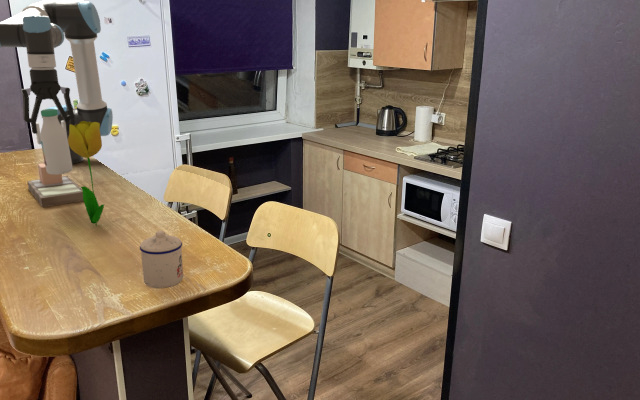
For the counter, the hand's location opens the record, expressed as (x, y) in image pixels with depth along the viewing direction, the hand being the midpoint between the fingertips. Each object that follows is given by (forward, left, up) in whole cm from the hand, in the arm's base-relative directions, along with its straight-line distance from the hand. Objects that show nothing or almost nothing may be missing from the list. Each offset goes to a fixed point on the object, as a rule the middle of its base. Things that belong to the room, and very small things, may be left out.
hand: (52, 142), depth 171 cm
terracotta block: (-7, -10, -16) cm, 20 cm away
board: (-4, -5, -19) cm, 20 cm away
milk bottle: (+1, +2, -9) cm, 10 cm away
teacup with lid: (+37, +66, -19) cm, 78 cm away
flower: (+15, +28, -19) cm, 37 cm away
